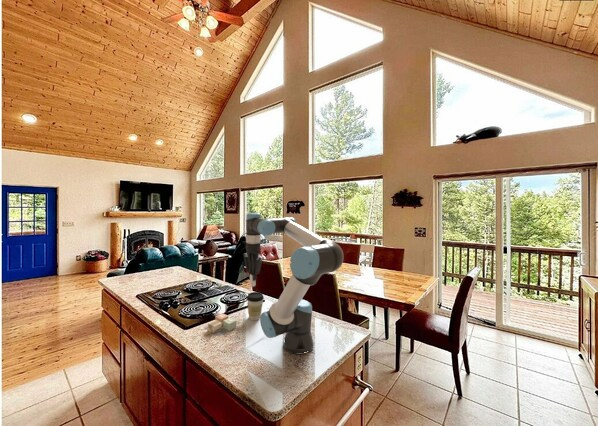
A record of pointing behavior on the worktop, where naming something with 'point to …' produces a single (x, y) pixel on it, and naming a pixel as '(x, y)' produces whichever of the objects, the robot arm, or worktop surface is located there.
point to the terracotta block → (221, 318)
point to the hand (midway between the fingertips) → (252, 285)
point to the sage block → (229, 324)
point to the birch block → (215, 326)
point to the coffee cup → (255, 305)
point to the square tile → (219, 331)
